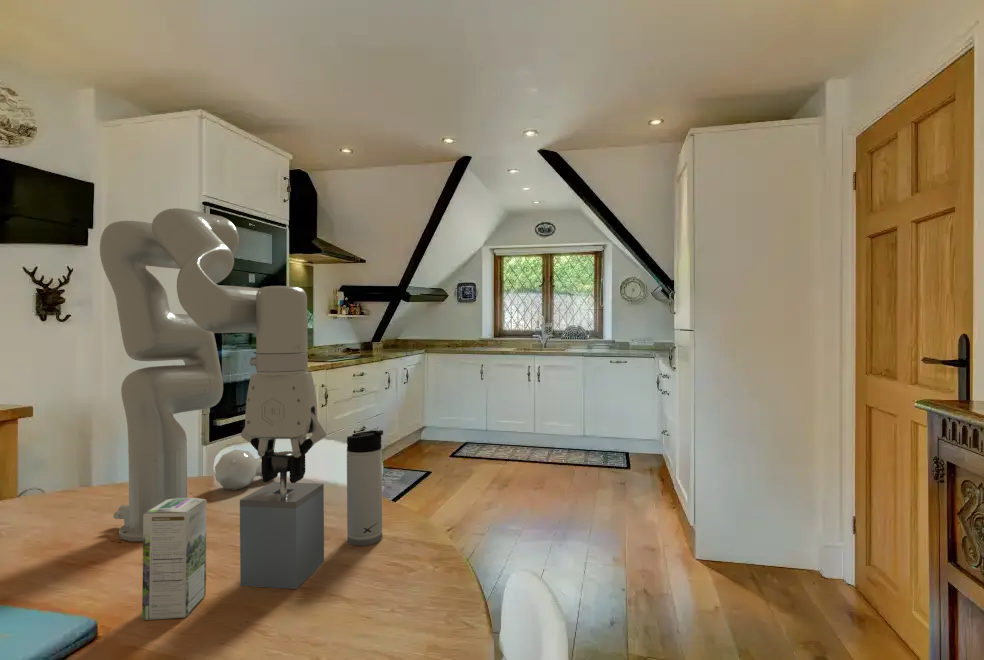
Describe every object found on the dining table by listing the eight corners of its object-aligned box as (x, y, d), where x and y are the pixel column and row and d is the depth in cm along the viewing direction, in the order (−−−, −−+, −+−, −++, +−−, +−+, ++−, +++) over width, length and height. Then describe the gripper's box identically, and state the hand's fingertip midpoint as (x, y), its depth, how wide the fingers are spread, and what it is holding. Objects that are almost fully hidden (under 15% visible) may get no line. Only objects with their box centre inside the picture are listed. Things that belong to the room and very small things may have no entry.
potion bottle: (211, 499, 120) (268, 490, 133) (233, 480, 117) (289, 472, 129) (202, 464, 124) (258, 458, 137) (223, 444, 120) (278, 439, 133)
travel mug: (375, 548, 90) (374, 434, 90) (341, 545, 91) (340, 433, 91) (389, 533, 96) (388, 427, 96) (357, 531, 97) (356, 426, 97)
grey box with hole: (240, 585, 77) (239, 499, 77) (273, 559, 86) (272, 481, 86) (296, 589, 76) (295, 501, 76) (324, 561, 85) (323, 483, 85)
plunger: (257, 555, 78) (256, 458, 78) (277, 540, 84) (276, 449, 84) (291, 557, 78) (290, 459, 78) (309, 542, 83) (308, 450, 83)
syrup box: (165, 598, 73) (164, 498, 73) (207, 596, 74) (207, 496, 74) (141, 621, 68) (140, 512, 68) (187, 618, 68) (186, 510, 68)
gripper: (218, 366, 78) (219, 485, 78) (321, 366, 76) (322, 489, 76) (248, 363, 86) (249, 472, 86) (342, 362, 83) (343, 474, 83)
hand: (283, 478), depth 81 cm, fingers closed on plunger, 3 cm apart
